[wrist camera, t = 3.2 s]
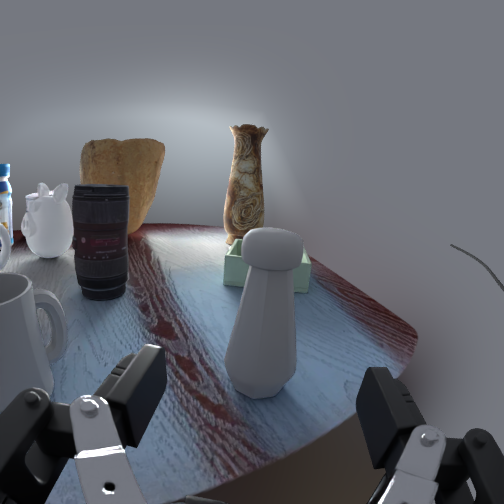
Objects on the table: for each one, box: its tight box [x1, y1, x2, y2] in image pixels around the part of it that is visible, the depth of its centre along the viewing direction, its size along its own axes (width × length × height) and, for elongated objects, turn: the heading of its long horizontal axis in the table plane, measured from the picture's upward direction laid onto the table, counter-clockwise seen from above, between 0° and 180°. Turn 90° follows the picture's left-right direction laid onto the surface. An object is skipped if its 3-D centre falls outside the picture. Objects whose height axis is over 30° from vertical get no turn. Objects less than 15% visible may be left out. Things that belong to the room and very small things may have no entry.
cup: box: [0, 273, 68, 413], centre depth 16 cm, size 7×10×9 cm
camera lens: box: [72, 184, 130, 300], centre depth 36 cm, size 8×8×15 cm
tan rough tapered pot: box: [80, 138, 165, 234], centre depth 69 cm, size 22×22×25 cm
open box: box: [223, 239, 312, 293], centre depth 51 cm, size 13×13×5 cm
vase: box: [224, 124, 269, 245], centre depth 73 cm, size 10×11×30 cm
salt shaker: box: [224, 228, 304, 399], centre depth 22 cm, size 6×6×13 cm
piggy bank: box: [21, 183, 73, 258], centre depth 47 cm, size 12×12×15 cm
